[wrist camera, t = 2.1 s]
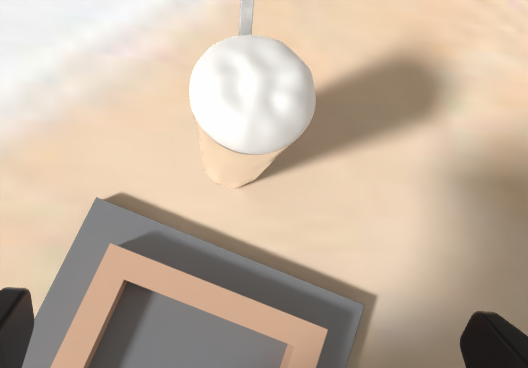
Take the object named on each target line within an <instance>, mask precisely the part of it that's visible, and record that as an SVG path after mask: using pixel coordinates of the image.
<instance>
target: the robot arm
mask: <svg viewBox="0 0 528 368" xmlns="http://www.w3.org/2000/svg"><path fill="white" fill-rule="evenodd" d="M33 329H34V314H33V307H32V300H31V294H30V292H29V290H28V289H26V288H11V287H7V288H4V289H2V290H0V368H22V366H23V362H24V359H25V356H26V353H27V349H28V346H29V343H30V339H31V336H32V333H33ZM460 348H461V352H462V355H463V359H464V362H465V365H466V368H528V336H527V335H525V334H524V333H523V332H521V331H520V330H519V329H517V328H516V327H514V326H513V325H512V324H510V323H509V322H508V321H506V320H505V319H504V318H502V317H501V316H500V315H498V314H497V313H494V312H484V311H477V312H475V313H474V314H473V315H472V316H471V318H470V320H469V322H468V324H467V326H466V328H465V330H464V331H463V333H462V335H461V338H460Z"/></svg>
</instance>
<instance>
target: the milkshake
mask: <svg viewBox="0 0 528 368" xmlns="http://www.w3.org/2000/svg"><path fill="white" fill-rule="evenodd" d="M253 7H254V0H241V1H240V20H239V36H234V37H230V38H227V39H224V40H221V41H219V42H217V43H215V44H214V45H213V46H211V47H210V48H209V49H208V50H207V51H206V52H205V53H204V54H203V55H202V56H201V58H200V59H199V60H198V62H197V64H196V65H195V67H194V69H193V72H192V75H191V79H190V87H189V97H190V104H191V108H192V112H193V117H194V121H195V125H196V129H197V133H198V137H199V141H200V147H201V155H202V162H203V169H204V171H205V172H206V173H207V174H208V175H209V176H210V177H211V178H212V179H213V180H214V181H215V183H216V184H218V185H223V186H228V187H232V188H238V187H241V186H243V185H245V184H247V183H250V182H252V181H254V180H255V179H256V178H257V177H258V176H259V175H260V174H261V173H262V172H263V171H264V170H265V169H266V168H267V167H268V166H269V165H270V164H271V163H272V162H273V161H274V159H275V158H276V157H277V156H278V155H279V154H281V153H282V152H283V151H284V150H285V149H286V148H287V147H288V146H290V145H291V144H292V143H293V142H294V141H295V140H296V139H297V138H298V137H299V136H300V135H301V134H302V133H303V132H304V131H305V130H306V128H307V127H308V125H309V124H310V122H311V120H312V117H313V114H314V111H315V105H316V96H315V88H314V82H313V77H312V74H311V71H310V69H309V68H308V66H307V65H306V64H305V63H304V62H303V61H302V60H301V59H300V58H299V57H298V56H297V55H296V54H295V53H294V52H293V51H292V50H291V49H290V48H289V47H288V46H287V45H285V44H284V43H282V42H280V41H278V40H276V39H273V38H269V37H265V36H258V35H251V33H252V20H253Z"/></svg>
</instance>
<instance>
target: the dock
mask: <svg viewBox="0 0 528 368" xmlns="http://www.w3.org/2000/svg"><path fill="white" fill-rule="evenodd" d="M363 308H364V305H363V304H361V303H358V302H356V301H353V300H351V299H348V298H346V297H343V296H341V295H338V294H336V293H333V292H331V291H328V290H326V289H323V288H321V287H318V286H316V285H313V284H311V283H308V282H306V281H303V280H301V279H298V278H296V277H293V276H291V275H289V274H286V273H284V272H281V271H279V270H276V269H274V268H271V267H269V266H266V265H264V264H261V263H259V262H256V261H254V260H251V259H249V258H246V257H244V256H241V255H239V254H236V253H234V252H231V251H229V250H226V249H224V248H221V247H219V246H216V245H214V244H211V243H209V242H207V241H204V240H202V239H199V238H197V237H194V236H192V235H189V234H187V233H184V232H182V231H179V230H177V229H174V228H172V227H169V226H167V225H164V224H162V223H159V222H157V221H154V220H152V219H149V218H147V217H144V216H142V215H139V214H137V213H134V212H132V211H129V210H127V209H125V208H122V207H120V206H117V205H115V204H112V203H110V202H107V201H105V200H102V199H100V198H97V197H96V199H95V201H94V203H93V205H92V207H91V209H90V211H89V213H88V215H87V216H86V218H85V220H84V222H83V224H82V226H81V228H80V230H79V232H78V234H77V236H76V238H75V240H74V242H73V244H72V246H71V248H70V250H69V252H68V254H67V256H66V258H65V260H64V262H63V264H62V266H61V268H60V270H59V272H58V274H57V276H56V278H55V280H54V282H53V284H52V286H51V288H50V290H49V292H48V294H47V296H46V297H45V299H44V301H43V303H42V305H41V307H40V309H39V311H38V313H37V315H36V317H35V319H34V329H33V333H32V336H31V339H30V343H29V346H28V349H27V353H26V356H25V359H24V362H23V366H22V368H346V365H347V362H348V358H349V355H350V352H351V348H352V345H353V342H354V338H355V335H356V331H357V328H358V325H359V321H360V318H361V315H362V311H363Z"/></svg>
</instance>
